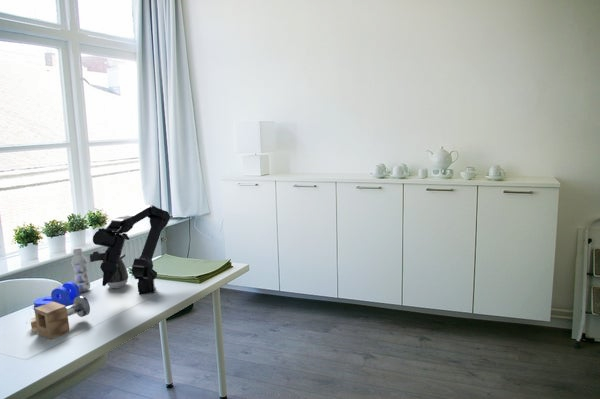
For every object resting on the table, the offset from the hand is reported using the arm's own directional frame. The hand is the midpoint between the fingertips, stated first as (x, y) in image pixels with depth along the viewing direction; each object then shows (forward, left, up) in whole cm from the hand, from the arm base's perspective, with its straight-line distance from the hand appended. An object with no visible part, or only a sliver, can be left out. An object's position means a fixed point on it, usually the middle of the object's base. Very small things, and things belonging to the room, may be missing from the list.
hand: (103, 285), depth 184 cm
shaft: (+10, +12, -8) cm, 18 cm away
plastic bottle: (+16, -27, -11) cm, 33 cm away
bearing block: (+15, +17, -10) cm, 25 cm away
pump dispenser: (+1, -29, -11) cm, 31 cm away
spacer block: (+22, +11, -10) cm, 27 cm away
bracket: (+24, -14, -11) cm, 30 cm away
